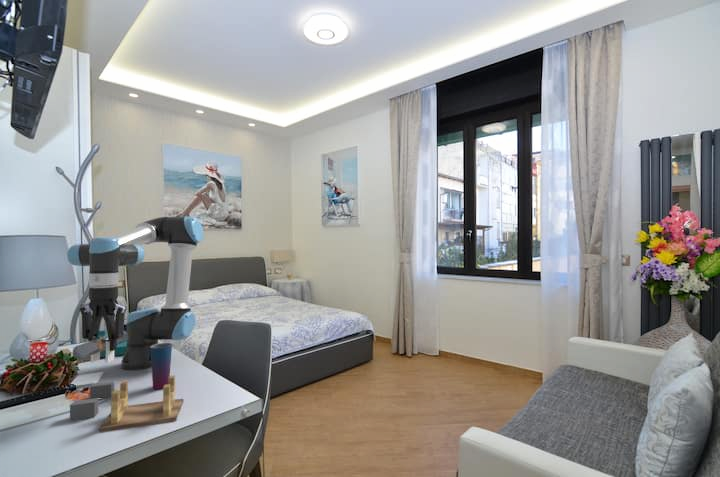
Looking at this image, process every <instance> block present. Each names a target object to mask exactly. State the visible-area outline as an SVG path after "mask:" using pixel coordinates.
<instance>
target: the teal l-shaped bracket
mask: <svg viewBox="0 0 720 477" xmlns="http://www.w3.org/2000/svg"><path fill="white" fill-rule="evenodd" d="M106 333H107V329H103V330H100V329H99V333H98V337H99V338H101V337H104V336H107V334H106ZM97 339H98V338H97ZM126 346H127V341H125V342H123V343H120V344H118V345H117V348H116V350H114V356H120V355H124V353H125V351H126ZM104 357H105V358H106V349H105V350H103V351H100V358H104Z"/></svg>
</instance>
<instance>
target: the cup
mask: <svg viewBox="0 0 720 477" xmlns="http://www.w3.org/2000/svg"><path fill="white" fill-rule="evenodd" d="M172 349H173V343H171V342H158V344H155V345H152V346H151V363H152V367H151V374H152V375H151V376H152V377H151V378H152V389H153V390H155V391H158V390H159V391H161V390H163V387H164V385H168V378H169V376H171V364H172V363H171V362H172V352H173V351H172Z"/></svg>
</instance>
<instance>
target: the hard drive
mask: <svg viewBox="0 0 720 477" xmlns="http://www.w3.org/2000/svg"><path fill="white" fill-rule="evenodd" d="M103 375H104V372H103V371H99V372H91V373H85V374H79V375H77V376H75V378H74V379H73V380H72V382H71V383H70V384H74V385H76V386H77V388H76V389H82V388H87V387H86V386H91V385H92V384H93V383H99V381H100V380H101V378H102V377H103Z"/></svg>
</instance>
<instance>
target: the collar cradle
mask: <svg viewBox="0 0 720 477" xmlns="http://www.w3.org/2000/svg"><path fill="white" fill-rule="evenodd" d="M175 389H176V375H175V374H174V375H170V376H169V378H168V385H164V387H163V389H162V390H163V391H162V394H163V395H162V400H161V401H154V402H147V403H146V402H145V403H138V404H137V403H136V404H131V405H129V380H122V381H121V382H120V383H119V389H117V390H114V391H113V392H112V393H111V398H110V400H111V401H110V403H111V406H110V414H109V415H108V416H107V418H106V419H105V420H104V421H103V423H102V424H101V425H100V427H99V428H98V430H99V431H98V432H99V433H100V432H102V433H103V432H108V431H115V430H121V429H122V430H123V429H128V428H135V427H136V428H137V427H142V426H143V427H144V426H148V425H149V426H150V425H157V424H163V423H169V422H170V423H171V422H176V421H177V420H178V417H179V415H180V412H181V409H182V406H183V404H184V398H178V399H176V394H175V393H176V390H175Z"/></svg>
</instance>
